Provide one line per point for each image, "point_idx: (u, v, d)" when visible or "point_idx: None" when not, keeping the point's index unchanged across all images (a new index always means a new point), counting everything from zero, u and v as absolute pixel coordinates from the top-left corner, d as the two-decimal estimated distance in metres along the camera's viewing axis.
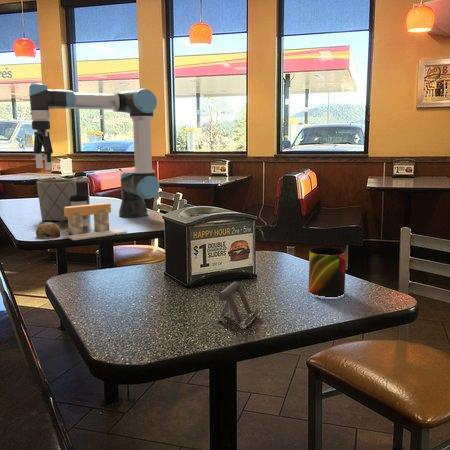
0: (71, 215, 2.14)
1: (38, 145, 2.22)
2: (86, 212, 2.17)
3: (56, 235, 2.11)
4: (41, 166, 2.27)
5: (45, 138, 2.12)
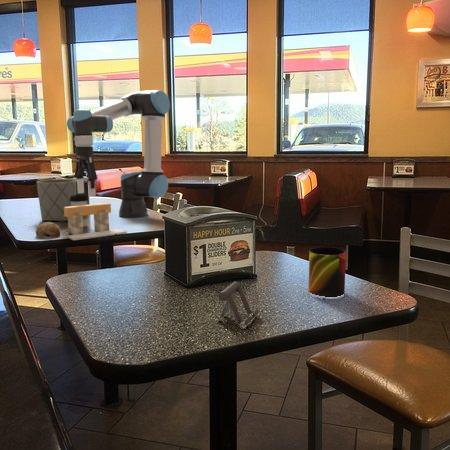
0: (71, 215, 2.14)
1: (80, 170, 2.20)
2: (86, 212, 2.17)
3: (56, 235, 2.11)
4: (83, 191, 2.24)
5: (89, 164, 2.10)
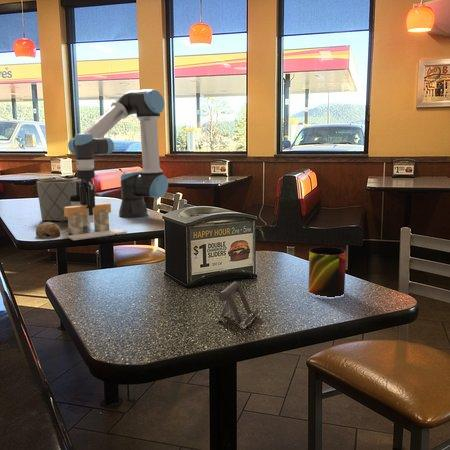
0: (71, 215, 2.14)
1: (84, 195, 2.20)
2: (86, 212, 2.17)
3: (56, 235, 2.11)
4: None
5: (90, 192, 2.13)
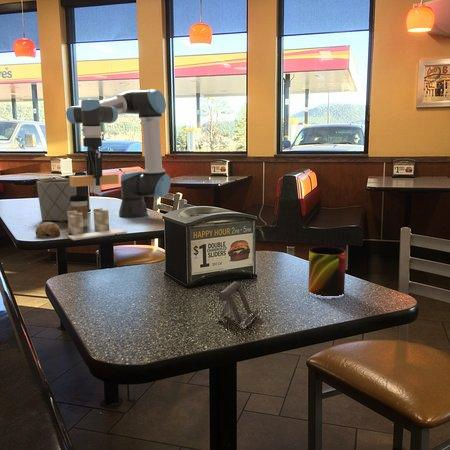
0: (77, 185, 2.03)
1: (91, 165, 2.09)
2: (93, 182, 2.07)
3: (56, 235, 2.11)
4: None
5: (97, 160, 2.03)
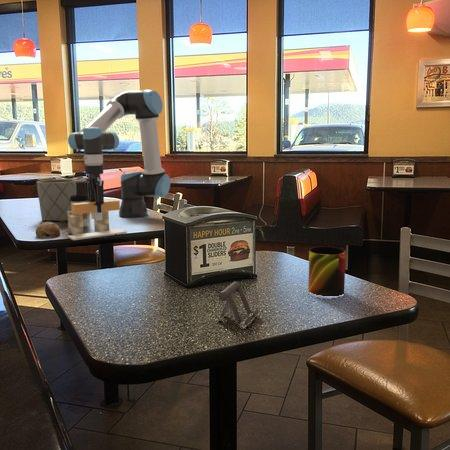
0: (79, 212, 2.05)
1: (92, 192, 2.11)
2: (94, 209, 2.09)
3: (56, 235, 2.11)
4: None
5: (99, 188, 2.05)
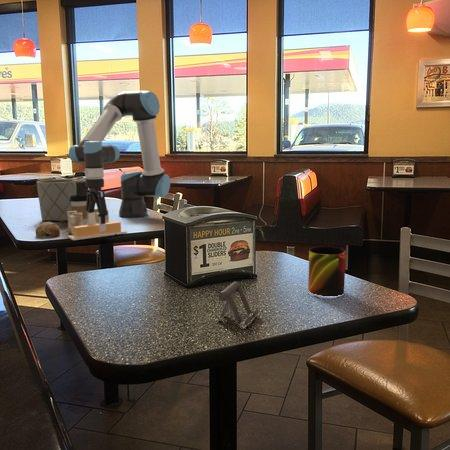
0: (81, 235, 2.07)
1: (91, 203, 2.14)
2: (96, 231, 2.11)
3: (56, 235, 2.12)
4: None
5: (100, 199, 2.05)
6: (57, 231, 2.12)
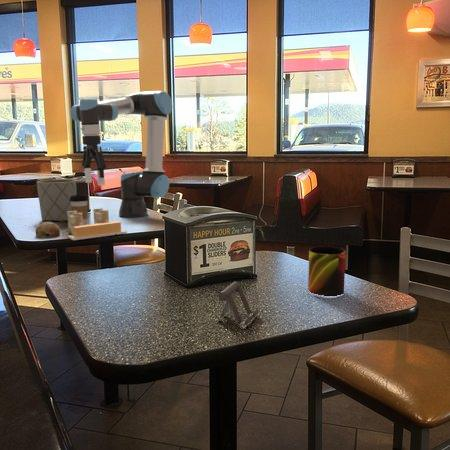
0: (81, 235, 2.07)
1: (88, 160, 2.19)
2: (96, 231, 2.11)
3: (56, 235, 2.12)
4: (90, 181, 2.24)
5: (98, 154, 2.09)
6: (57, 231, 2.12)
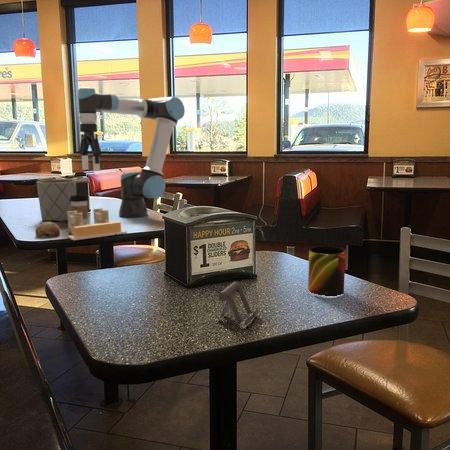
0: (81, 235, 2.07)
1: (85, 147, 2.29)
2: (96, 231, 2.11)
3: (56, 235, 2.12)
4: (87, 168, 2.33)
5: (94, 140, 2.19)
6: (57, 231, 2.12)
